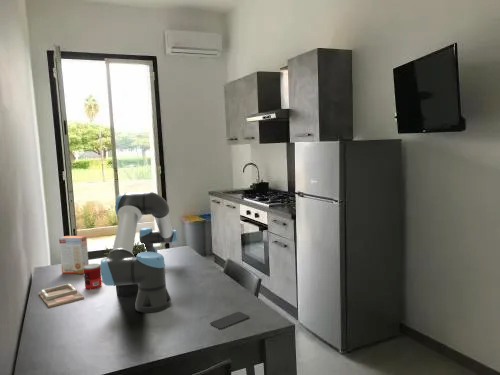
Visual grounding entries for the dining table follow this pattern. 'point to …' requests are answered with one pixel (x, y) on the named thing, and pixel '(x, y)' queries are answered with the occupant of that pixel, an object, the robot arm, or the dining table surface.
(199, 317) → the dining table surface
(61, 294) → the board
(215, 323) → the phone
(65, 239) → the cracker box
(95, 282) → the canned food
